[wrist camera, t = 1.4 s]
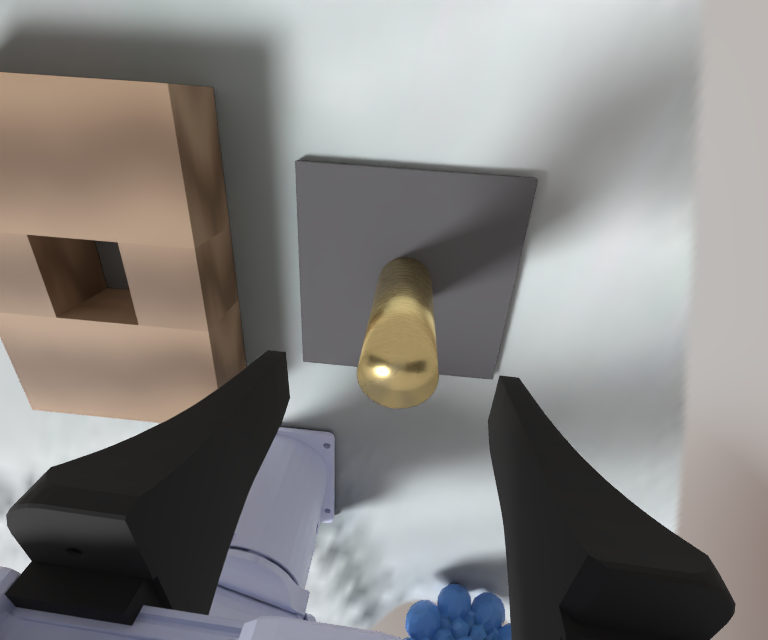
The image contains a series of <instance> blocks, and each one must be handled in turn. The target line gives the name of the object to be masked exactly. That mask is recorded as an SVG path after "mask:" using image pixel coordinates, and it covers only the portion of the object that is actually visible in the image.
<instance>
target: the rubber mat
mask: <svg viewBox="0 0 768 640" xmlns="http://www.w3.org/2000/svg"><path fill="white" fill-rule="evenodd" d="M295 168H296V193H297V218H298V243H299V268H300V293H301V318H302V343H303V362H313V363H324V364H334V365H345V366H355V367H358V364H359V360H360V356H361V351H362V347H363V343H364V338H365V334H366V330H367V326H368V321H369V317H370V313H371V309H372V304H373V300H374V296H375V291H376V287H377V283H378V279H379V275H380V272H381V270H382V269H383V267H384V266H385V265H386V264H387V263H388V262H390V261H392V260H393V259H396V258H400V257H409V258H414V259H416V260H418V261H420V262H421V263H423V264H424V265H425V266H426V267H427V269H428V270H429V272H430V275H431V278H432V291H433V305H434V319H435V332H436V346H437V360H438V373H439V374H440V375H451V376H461V377H472V378H482V379H493V375H494V371H495V367H496V362H497V358H498V353H499V349H500V345H501V340H502V336H503V331H504V327H505V323H506V318H507V314H508V309H509V305H510V300H511V296H512V292H513V287H514V283H515V278H516V274H517V270H518V265H519V261H520V256H521V252H522V248H523V243H524V239H525V234H526V230H527V226H528V221H529V217H530V212H531V208H532V204H533V199H534V195H535V190H536V186H537V182H538V179H537V178H532V177H519V176H505V175H492V174H478V173H465V172H451V171H438V170H424V169H411V168H397V167H384V166H370V165H357V164H343V163H329V162H316V161H302V160H297V161H295Z"/></svg>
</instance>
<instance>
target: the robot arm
mask: <svg viewBox="0 0 768 640" xmlns="http://www.w3.org/2000/svg"><path fill="white" fill-rule="evenodd" d="M289 399H290V393H289V382H288V372H287V361H286V352H279V351H270V350H268V351H267V352H265V353H264V354H263V355H262V356H260V357H259V358H258V359H256V360H255V361H254V362H253V363H251V364H250V365H249V366H247V367H246V368H245V369H244V370H242V371H241V372H240V373H239V374H237V375H236V376H235V377H233V378H232V379H231V380H229V381H228V382H227V383H225V384H224V385H223V386H221V387H220V388H218V389H217V390H215V391H214V392H212V393H211V394H210V395H208V396H207V397H205V398H204V399H202V400H201V401H199V402H198V403H196V404H195V405H193V406H191V407H190V408H188V409H186V410H185V411H183V412H181V413H179V414H178V415H176V416H174V417H172V418H170V419H169V420H167V421H165V422H163V423H161V424H159V425H157V426H155V427H153V428H151V429H149V430H147V431H144V432H142V433H140V434H138V435H136V436H134V437H132V438H129V439H127V440H125V441H122V442H120V443H118V444H115V445H113V446H110V447H108V448H105V449H103V450H100V451H97V452H95V453H92V454H89V455H86V456H83V457H80V458H77V459H75V460H72V461H69V462H66V463H63V464H60V465H57V466H53V467H51V468H50V469H49V470H48V471H47V472H46V473H45V474H44V475H43V476H42V477H41V478H40V479H39V480H38V481H37V482H36V483H35V484H34V485H33V486H32V487H31V488H30V489H29V490H28V491H27V492H26V493H25V494H24V495H23V496H22V497H21V498H20V499H19V500H18V501H17V502H16V503H15V504H14V505H13V506H12V507H11V508H10V510H9V511H8V513H7V515H6V517H7V526H8V528H9V530H10V532H11V534H12V535H13V536H14V538H15V539H16V540H17V542H18V543H19V544H20V546H21V547H22V548H23V550H24V551H25V553H26V554H27V555H28V557H29V558H30V559H31V561H32V562H31V563H30V564H29V565H28V566H27V568H26V569H25V570H24V571H23V572H22V574H20V573H19V572H17V571H15V570H13V569H10V568H6V567H0V640H403V639H401V638H400V637H396V636H393V635H389V634H386V633H382V632H377V631H371V630H365V629H358V628H352V627H345V626H339V625H332V624H326V623H320V622H316V620H315V617H313V616H312V615H311V614H307V613H305V611H306V606H307V602H308V597H309V591H307V590H305V585H306V581H307V577H308V573H309V569H310V564H311V560H312V556H313V552H314V548H315V543H316V539H317V535H318V531H319V527H320V522H326V523H330V522H332V521H333V520H334V497H335V437H334V435H333V434H332V433H330V432H323V431H313V430H303V429H293V428H284V427H280V425H281V423H282V420H283V417H284V414H285V412H286V408H287V405H288V402H289ZM488 429H489V445H490V453H491V459H492V464H493V470H494V475H495V480H496V485H497V490H498V496H499V501H500V506H501V511H502V518H503V525H504V534H505V546H506V557H507V571H508V584H509V600H510V618H511V639H512V640H710V639H711V638H712V637H713V636H714V635H715V634H716V633H717V632H718V631H720V630H721V629H722V628H723V627H724V626H725V625H726V624H727V623H728V622H729V620H730V619H731V617H732V616H733V614H734V612H735V602H734V600H733V598H732V596H731V594H730V593H729V591H728V589H727V587H726V585H725V583H724V581H723V580H722V578H721V576H720V574H719V572H718V571H717V569H716V568H715V566H714V565H713V563H712V562H711V560H710V558H709V557H708V555H706V554H705V553H703V552H701V551H700V550H699V549H697V548H696V547H694V546H693V545H691V544H690V543H688V542H686V541H685V540H683V539H682V538H680V537H679V536H677V535H676V534H674V533H673V532H671V531H670V530H668V529H667V528H666V527H664V526H663V525H661V524H660V523H659V522H657V521H656V520H655V519H653V518H652V517H651V516H649V515H648V514H647V513H645V512H644V511H643V510H641V509H640V508H639V507H637V506H636V505H635V504H634V503H632V502H631V501H630V500H629V499H627V498H626V497H625V496H624V495H623V494H621V493H620V492H619V491H618V490H617V489H616V488H614V487H613V486H612V485H611V484H610V483H609V482H607V481H606V480H605V479H604V478H603V477H602V476H601V475H600V474H599V473H598V472H597V471H596V470H595V469H594V468H593V467H592V466H590V465H589V464H588V463H587V462H586V461H585V460H584V459H583V458H582V457H581V456H580V455H579V454H578V452H577V451H576V450H575V449H574V448H573V447H572V446H571V445H570V444H569V443H568V441H567V440H566V439H565V438H564V437H563V436H562V435H561V433H560V432H559V431H558V430H557V429H556V427H555V426H554V425H553V423H552V422H551V421H550V420H549V418H548V417H547V416H546V415H545V413H544V412H543V411H542V409H541V408H540V407H539V405H538V404H537V403H536V401H535V400H534V398H533V397H532V396H531V394H530V393H529V391H528V390H527V389H526V387H525V386H524V384H523V383H522V382H521V380H520V379H519V378H516V377H507V376H499V380H498V384H497V388H496V392H495V396H494V400H493V404H492V408H491V411H490V415H489V419H488ZM325 443H328V444H330V445H328V444H325Z"/></svg>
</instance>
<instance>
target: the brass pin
mask: <svg viewBox="0 0 768 640" xmlns="http://www.w3.org/2000/svg"><path fill="white" fill-rule="evenodd" d="M357 379H358V383H359V385H360V387H361V389H362V391H363V392H364V393H365V394H366V395H367V397H369V398H370V399H371V400H373V401H374V402H376V403H378V404H380V405H382V406H385V407H389V408H398V409H401V408H410V407H413V406H416V405H419V404H421V403H422V402H424V401H425V400H427V399H428V398H429V397H430V396H431V395H432V394H433V392H434V391H435V389H436V387H437V384H438V379H439V373H438V360H437V346H436V332H435V319H434V305H433V291H432V278H431V275H430V272H429V270H428V269H427V267H426V266H425V265H424V264H423V263H421V262H420V261H418V260H416V259H414V258H409V257H400V258H396V259H393V260H392V261H390V262H388V263H387V264H386V265H385V266H384V267H383V269H382V270H381V272H380V275H379V279H378V283H377V287H376V291H375V296H374V300H373V304H372V309H371V313H370V317H369V321H368V326H367V330H366V334H365V338H364V343H363V347H362V351H361V356H360V360H359V364H358V368H357Z"/></svg>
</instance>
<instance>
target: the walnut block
mask: <svg viewBox="0 0 768 640" xmlns="http://www.w3.org/2000/svg"><path fill="white" fill-rule="evenodd" d="M94 240H96V241H108V242H118V246H119V250H120V254H121V258H122V262H123V265H124V269H125V273H126V277H127V281H128V285H129V289H130V290H124V289H113V288H107V284H106V281H105V277H104V274H103V270H102V267H101V263H100V260H99V256H98V252H97V249H96V245H95V242H94ZM0 337H1V340H2V342H3V344H4V346H5V349H6V351H7V353H8V355H9V358H10V360H11V362H12V364H13V367H14V369H15V371H16V374H17V376H18V378H19V380H20V383H21V385H22V387H23V389H24V392H25V394H26V396H27V398H28V401H29V403H30V405H31V407H32V410H40V411H50V412H60V413H70V414H79V415H89V416H99V417H109V418H119V419H128V420H138V421H148V422H158V423H163V422H165V421H167V420H169V419H170V418H172V417H174V416H176V415H178V414H179V413H181V412H183V411H185V410H186V409H188V408H190V407H191V406H193V405H195V404H196V403H198V402H199V401H201V400H202V399H204V398H205V397H207V396H208V395H210V394H211V393H212V392H214V391H215V390H217V389H218V388H220V387H221V386H223V385H224V384H225V383H227V382H228V381H229V380H231V379H232V378H233V377H235V376H236V375H237V374H239V373H240V372H241V371H242V370H244V369H245V368H246V359H245V350H244V342H243V333H242V325H241V317H240V308H239V300H238V291H237V283H236V275H235V266H234V258H233V250H232V241H231V233H230V224H229V216H228V208H227V199H226V191H225V182H224V174H223V166H222V157H221V149H220V141H219V132H218V124H217V115H216V107H215V99H214V90H213V87H202V86H191V85H180V84H169V83H155V82H140V81H125V80H110V79H95V78H80V77H65V76H51V75H36V74H21V73H6V72H0Z"/></svg>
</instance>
